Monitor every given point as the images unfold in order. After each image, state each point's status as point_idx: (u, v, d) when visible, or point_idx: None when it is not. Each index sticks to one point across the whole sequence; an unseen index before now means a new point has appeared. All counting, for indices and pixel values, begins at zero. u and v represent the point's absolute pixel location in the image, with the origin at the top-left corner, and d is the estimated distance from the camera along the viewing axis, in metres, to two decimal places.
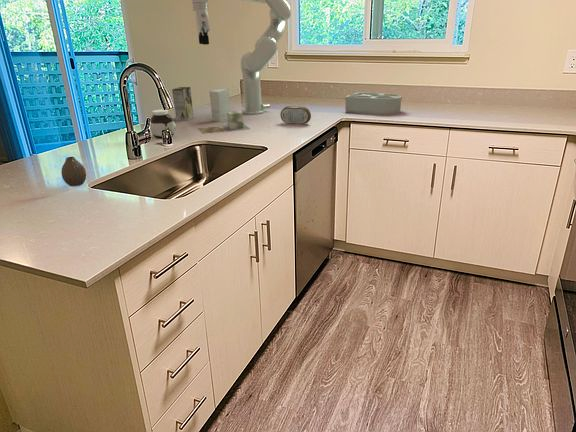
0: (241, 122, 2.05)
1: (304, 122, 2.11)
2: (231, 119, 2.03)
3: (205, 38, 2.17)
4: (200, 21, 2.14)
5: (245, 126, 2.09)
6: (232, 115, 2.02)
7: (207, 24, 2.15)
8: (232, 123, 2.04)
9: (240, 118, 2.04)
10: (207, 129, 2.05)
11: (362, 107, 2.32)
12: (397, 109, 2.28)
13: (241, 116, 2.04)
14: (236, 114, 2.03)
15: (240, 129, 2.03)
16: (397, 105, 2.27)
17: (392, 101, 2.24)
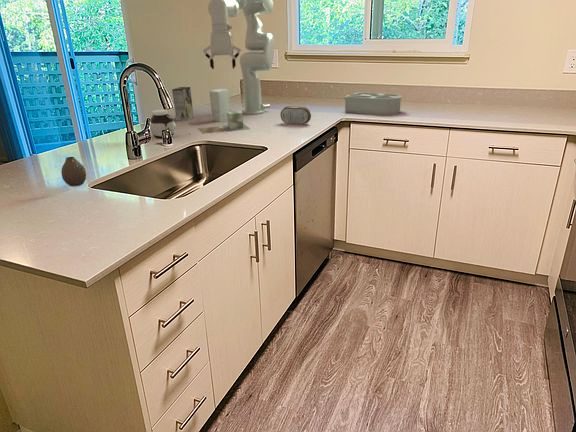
0: (241, 122, 2.05)
1: (304, 122, 2.11)
2: (231, 119, 2.03)
3: (235, 62, 2.03)
4: (231, 44, 1.99)
5: (245, 126, 2.09)
6: (232, 115, 2.02)
7: None
8: (232, 123, 2.04)
9: (240, 118, 2.04)
10: (207, 129, 2.05)
11: (362, 107, 2.32)
12: (396, 109, 2.28)
13: (241, 116, 2.04)
14: (236, 114, 2.03)
15: (240, 129, 2.03)
16: (396, 105, 2.27)
17: (391, 101, 2.24)
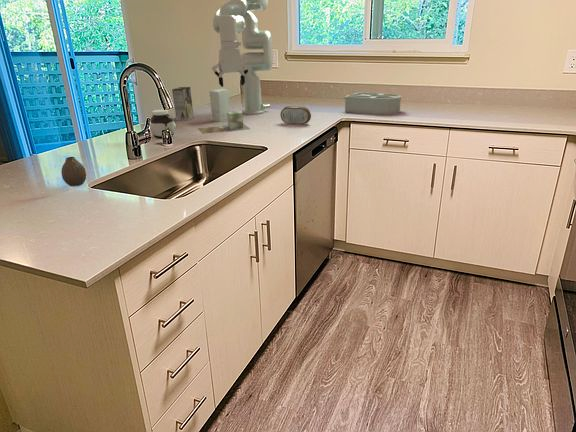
0: (241, 122, 2.05)
1: (304, 122, 2.11)
2: (231, 119, 2.03)
3: None
4: (241, 60, 1.96)
5: (245, 126, 2.09)
6: (232, 115, 2.02)
7: None
8: (232, 123, 2.04)
9: (240, 118, 2.04)
10: (207, 129, 2.05)
11: (362, 107, 2.32)
12: (396, 109, 2.28)
13: (241, 116, 2.04)
14: (236, 114, 2.03)
15: (240, 129, 2.03)
16: (396, 105, 2.27)
17: (391, 101, 2.24)
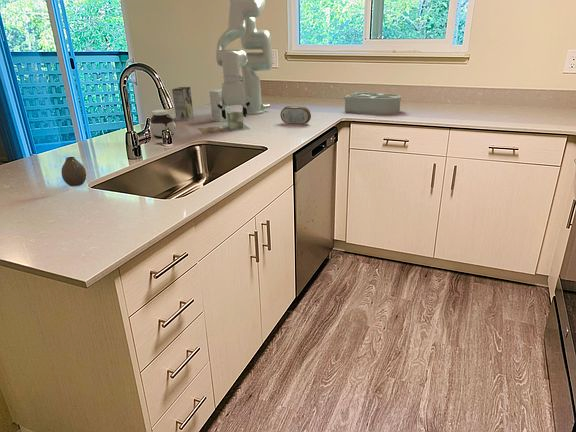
0: (241, 122, 2.05)
1: (304, 122, 2.11)
2: (231, 119, 2.03)
3: None
4: (243, 94, 2.02)
5: (245, 126, 2.09)
6: (232, 115, 2.02)
7: None
8: (232, 123, 2.04)
9: (240, 118, 2.04)
10: (207, 129, 2.05)
11: (361, 107, 2.32)
12: (396, 109, 2.28)
13: (241, 116, 2.04)
14: (236, 114, 2.03)
15: (240, 129, 2.03)
16: (396, 105, 2.27)
17: (391, 101, 2.25)
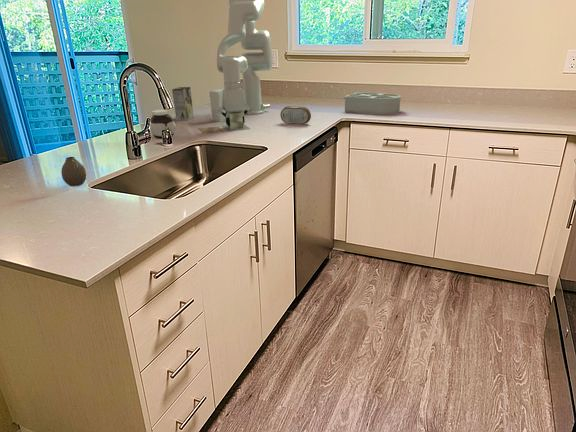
0: (241, 122, 2.05)
1: (304, 122, 2.11)
2: (231, 119, 2.03)
3: None
4: (244, 100, 2.03)
5: (245, 126, 2.09)
6: (232, 115, 2.02)
7: None
8: (232, 123, 2.04)
9: (240, 118, 2.04)
10: (207, 129, 2.05)
11: (361, 107, 2.32)
12: (396, 109, 2.28)
13: (241, 116, 2.04)
14: (236, 114, 2.03)
15: (240, 129, 2.03)
16: (396, 105, 2.27)
17: (391, 101, 2.25)
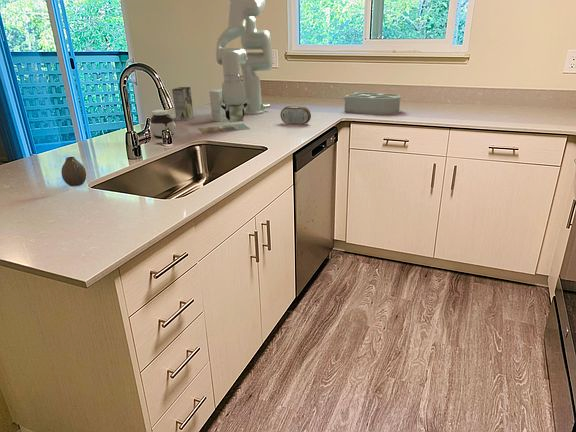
0: (241, 115, 2.04)
1: (304, 122, 2.11)
2: (231, 112, 2.02)
3: None
4: (244, 93, 2.02)
5: (245, 126, 2.09)
6: (232, 108, 2.01)
7: None
8: (232, 116, 2.03)
9: (240, 111, 2.03)
10: (207, 129, 2.05)
11: (361, 107, 2.32)
12: (396, 109, 2.28)
13: (241, 109, 2.03)
14: (236, 107, 2.02)
15: (240, 129, 2.03)
16: (396, 105, 2.27)
17: (390, 101, 2.25)
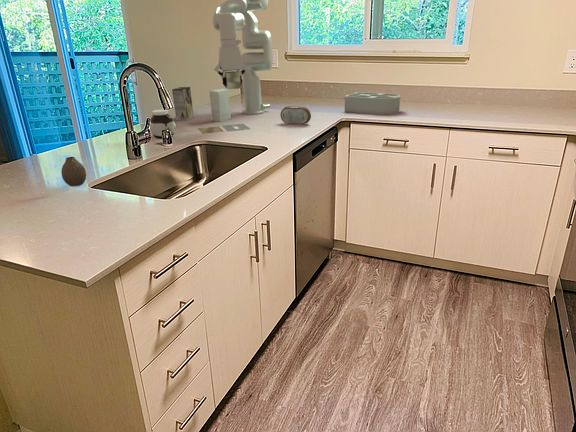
0: (238, 82, 1.98)
1: (304, 122, 2.11)
2: (228, 78, 1.96)
3: None
4: (241, 58, 1.96)
5: (245, 126, 2.09)
6: (229, 74, 1.95)
7: None
8: (229, 83, 1.97)
9: (237, 77, 1.97)
10: (207, 129, 2.05)
11: (361, 107, 2.33)
12: (396, 109, 2.29)
13: (238, 76, 1.97)
14: (233, 73, 1.96)
15: (240, 129, 2.03)
16: (396, 105, 2.28)
17: (390, 101, 2.25)
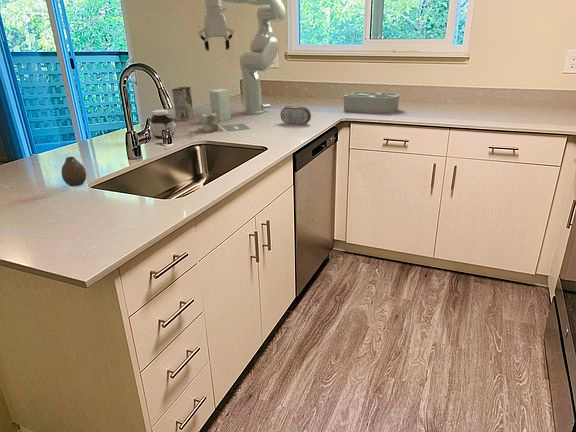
0: (216, 125, 2.01)
1: (304, 122, 2.11)
2: (205, 122, 1.99)
3: None
4: None
5: (245, 126, 2.09)
6: (206, 117, 1.99)
7: None
8: (206, 126, 2.00)
9: (214, 120, 2.00)
10: None
11: (361, 106, 2.35)
12: (395, 108, 2.32)
13: (216, 118, 2.00)
14: (210, 116, 1.99)
15: (240, 129, 2.03)
16: (395, 104, 2.31)
17: (390, 100, 2.28)
